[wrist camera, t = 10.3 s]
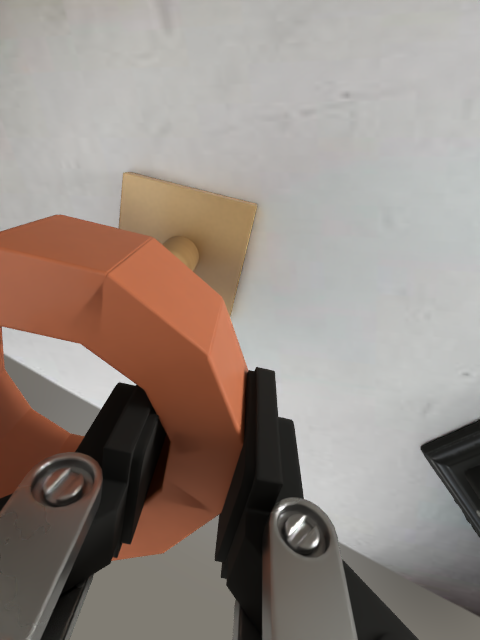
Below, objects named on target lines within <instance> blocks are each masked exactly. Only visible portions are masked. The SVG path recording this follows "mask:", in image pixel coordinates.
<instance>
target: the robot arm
mask: <svg viewBox="0 0 480 640" xmlns="http://www.w3.org/2000/svg"><path fill="white" fill-rule="evenodd" d="M165 437H166V432H165V430H164V428H163V426H162V424H161V422H160V420H159V415H157V414H156V412H155V410H154V408H153V406H152V404H151V402H150V400H149V398H148V396H147V394H146V392H145V390H144V389H142V388H141V387H140V386H138V385H136V386H134V385H129V384H125V383H120V382H119V383H118V384H117V385H116V386H115V388H114V389H113V391H112V393H111V394H110V396H109V398H108V399H107V401H106V402H105V404H104V406H103V407H102V409H101V411H100V412H99V414H98V416H97V417H96V419H95V421H94V422H93V424H92V425H91V427H90V429H89V430H88V432H87V433H86V435H85V437H84V438H83V440H82V441H81V443H80V445H79V446H78V448H77V450H76V451H75V452H66V453H60V454H56V455H53V456H50V457H48V458H45V459H44V460H42V461H41V462H39V463H38V464H36V465H35V466H34V467H33V468H32V469H31V470H30V471H29V472H28V473H27V475H26V476H25V477H24V479H23V480H22V482H21V483H20V485H19V486H18V487H17V489H16V490H15V492H14V493H12V494H10V495H7V496H5V497H2V498H0V640H69V639H70V637H71V634H72V632H73V629H74V626H75V624H76V621H77V618H78V616H79V613H80V610H81V608H82V605H83V602H84V600H85V597H86V595H87V592H88V590H89V587H90V584H91V582H92V579H93V575H94V573H96V572H97V571H99V570H100V569H102V568H104V567H105V566H107V565H109V564H110V563H111V560H112V557H114V558H118V555H119V552H120V549H121V546H122V543H124V544H131V542H132V539H133V537H134V533H135V530H136V527H137V524H138V521H139V518H140V515H141V512H142V509H143V506H144V502H145V498H146V495H147V492H148V489H149V486H150V483H151V480H152V477H153V474H154V471H155V468H156V465H157V462H158V459H159V456H160V452H161V449H162V446H163V443H164V440H165ZM215 561H219V562H222V570H221V578H225V579H227V584H226V585H227V587H228V588H229V590H230V591H231V593H232V594H233V595H234V597H235V598H236V601H235V608H234V626H233V640H418V638H417V637H416V636H415V635H414V634H413V633H412V632H411V631H410V630H409V629H408V628H407V627H406V626H405V625H404V624H403V623H402V622H401V620H400V619H399V618H398V617H397V616H396V615H395V614H394V613H393V612H392V611H391V610H390V609H389V608H388V607H387V606H386V605H385V604H384V603H383V602H382V601H381V600H380V598H379V597H378V596H377V595H376V594H375V593H374V592H373V591H372V590H371V589H370V588H369V587H368V586H367V585H366V584H365V583H364V582H363V581H362V579H360V577H359V576H358V575H357V574H356V573H355V572H354V571H353V570H352V569H351V568H350V567H349V566H348V565H347V564H346V563H345V562H344V561H343V560H342V558H341V553H340V547H339V542H338V537H337V534H336V531H335V528H334V525H333V523H332V522H331V520H330V519H329V517H328V516H327V515H326V514H325V513H324V512H323V511H322V510H321V509H320V508H319V507H318V506H316V505H315V504H313V503H312V502H310V501H308V500H305V499H304V497H303V489H302V482H301V474H300V466H299V459H298V451H297V443H296V436H295V428H294V423H293V421H292V420H290V419H286V418H281V417H278V408H277V395H276V381H275V371H272V370H268V369H263V368H259V367H256V369H255V371H250V370H249V371H248V373H247V389H246V409H245V429H244V441H243V446H242V450H241V453H240V456H239V459H238V462H237V465H236V468H235V471H234V475H233V478H232V481H231V484H230V487H229V490H228V493H227V497H226V500H225V503H224V506H223V509H222V512H221V513H220V514H219V523H218V532H217V542H216V551H215Z"/></svg>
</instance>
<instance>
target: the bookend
mask: <svg viewBox="0 0 480 640" xmlns="http://www.w3.org/2000/svg"><path fill="white" fill-rule="evenodd" d="M421 450H422V452H423V454H424V456H425V457H426V459H427V460H428V462H429V463H430V465H431V466H432V468H433V469H434V470H435V472H436V473H437V475H438V476H439V478H440V479H441V481H442V482H443V483H444V485H445V486H446V488H447V489H448V491H449V492H450V493H451V495H452V496H453V498H454V501H455V502H456V503H457V504H458V505H459V506H460V508H461V510H462V512H463V513H464V515H465V517H466V520H467V521H468V522H469V523H470V524H471V525H472V527H473V529H474V530H475V532H476V533H477V534H478V536H479V537H480V421H479V422H477V423H475V424H472V425H470V426H467V427H465V428H463V429H461V430H458V431H456V432H454V433H451V434H449V435H447V436H444V437H442V438H440V439H437V440H435V441H433V442H431V443H428V444H426V445H424V446H422V447H421Z"/></svg>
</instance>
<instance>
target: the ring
mask: <svg viewBox="0 0 480 640" xmlns="http://www.w3.org/2000/svg"><path fill="white" fill-rule="evenodd" d="M2 326H3V327H7V328H12V329H16V330H21V331H26V332H30V333H35V334H39V335H44V336H48V337H53V338H57V339H62V340H66V341H71V342H75V343H80V344H82V345H83V346H84V347H86V348H87V349H88V350H90V351H91V352H93V353H94V354H95V355H97V356H98V357H100V358H101V359H102V360H104V361H105V362H106V363H108V364H109V365H111V366H112V367H113V368H115V369H116V370H118V371H119V372H120V373H122V374H123V375H124V376H126V377H127V378H129V379H130V380H131V381H133V382H134V383H135V384H137V385H138V386H140V387H141V388H142V389H144V390H145V392H146V394H147V396H148V398H149V400H150V402H151V404H152V406H153V408H154V410H155V412H156V414H157V415H159V420H160V422H161V424H162V426H163V428H164V430H165V432H166V437H165V440H164V443H163V446H162V449H161V452H160V456H159V459H158V462H157V465H156V468H155V471H154V474H153V477H152V480H151V483H150V486H149V489H148V492H147V495H146V498H145V502H144V506H143V509H142V512H141V515H140V518H139V521H138V524H137V527H136V530H135V533H134V537H133V539H132V542H131V544H124V543H122V546H121V549H120V552H119V555H118V558H114V557H112V560H111V561H113V560H120V559H127V558H134V557H140V556H147V555H155V554H161V553H164V552H165V551H167V550H168V549H170V548H171V547H173V546H174V545H175V544H177V543H178V542H180V541H181V540H183V539H184V538H186V537H187V536H189V535H190V534H191V533H193V532H194V531H196V530H197V529H199V528H200V527H201V526H203V525H204V524H206V523H207V522H209V521H210V520H212V519H213V518H215V517H216V516H217V515H219V514H220V513H221V512H222V509H223V506H224V503H225V500H226V497H227V493H228V490H229V487H230V484H231V481H232V478H233V475H234V471H235V468H236V465H237V462H238V459H239V456H240V453H241V450H242V446H243V441H244V429H245V409H246V389H247V373H248V368H247V366H246V363H245V360H244V357H243V354H242V351H241V348H240V345H239V342H238V340H237V337H236V334H235V331H234V328H233V325H232V322H231V319H230V316H229V314H228V311H227V308H226V305H225V302H224V300H223V298H222V296H220V295H219V294H218V293H217V292H216V291H215V290H214V289H212V288H211V287H210V286H209V285H208V284H207V283H206V282H204V281H203V280H202V279H201V278H200V277H199V276H197V275H196V274H195V273H194V272H193V271H192V270H191V269H189V268H188V267H187V266H186V265H185V264H184V263H183V262H181V261H180V260H179V259H178V258H177V257H176V256H175V255H173V254H172V253H171V252H170V251H169V250H168V249H167V248H165V247H164V246H163V245H162V244H161V243H160V242H159V241H157V240H156V239H155V238H153V237H151V236H147V235H143V234H139V233H135V232H131V231H127V230H122V229H118V228H114V227H110V226H106V225H102V224H97V223H93V222H89V221H85V220H81V219H77V218H72V217H68V216H64V215H54V216H50V217H47V218H44V219H40V220H37V221H34V222H30V223H27V224H24V225H20V226H17V227H14V228H10V229H7V230H4V231H1V232H0V498H2V497H5V496H7V495H10V494H12V493H14V492H15V490H16V489H17V487H18V486H19V485H20V483H21V482H22V480H23V479H24V477H25V476H26V475H27V473H28V472H29V471H30V470H31V469H32V468H33V467H34V466H35V465H36V464H38V463H39V462H41V461H42V460H44V459H45V458H48V457H50V456H53V455H56V454H60V453H66V452H75V451H76V450H77V448H78V446H79V445H80V443H81V441H82V440H83V438H84V437H85V436H80V435H75V434H70V433H69V432H67V431H66V430H64V429H63V428H61V427H59V426H58V425H56V424H55V423H53V422H51V421H50V420H48V419H47V418H45V417H44V416H42V415H41V414H39V413H37V412H36V411H34V410H33V409H32V408H31V407H30V405H29V404H28V403H27V401H26V400H25V398H24V397H23V395H22V394H21V392H20V391H19V390H18V388H17V386H16V385H15V384H14V382H13V381H12V379H11V378H10V376H9V375H8V373H7V372H6V370H5V369H4V354H3V340H2Z"/></svg>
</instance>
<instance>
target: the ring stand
mask: <svg viewBox="0 0 480 640" xmlns="http://www.w3.org/2000/svg"><path fill="white" fill-rule="evenodd" d="M256 209H257V204H255V203H251V202H247V201H243V200H239V199H235V198H231V197H227V196H223V195H219V194H215V193H211V192H207V191H203V190H199V189H195V188H191V187H187V186H183V185H180V184H176V183H172V182H168V181H164V180H160V179H156V178H152V177H148V176H144V175H140V174H136V173H132V172H125V173H123V181H122V194H121V206H120V218H119V229H122V230H127V231H131V232H135V233H139V234H143V235H147V236H151V237H153V238H155V239H156V240H157V241H159V242H160V243H161V244H162V245H163V246H164V247H165V248H167V249H168V250H169V251H170V252H171V253H172V254H173V255H175V256H176V257H177V258H178V259H179V260H180V261H181V262H183V263H184V264H185V265H186V266H187V267H188V268H189V269H191V270H192V271H193V272H194V273H195V274H196V275H197V276H199V277H200V278H201V279H202V280H203V281H204V282H206V283H207V284H208V285H209V286H210V287H211V288H212V289H214V290H215V291H216V292H217V293H218V294H219V295H220V296H222V298H223V300H224V302H225V305H226V308H227V311H228V314H229V316H230V315H231V311H232V307H233V303H234V299H235V295H236V291H237V287H238V283H239V278H240V274H241V270H242V266H243V262H244V258H245V254H246V250H247V246H248V242H249V238H250V234H251V229H252V225H253V221H254V217H255V213H256Z"/></svg>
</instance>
